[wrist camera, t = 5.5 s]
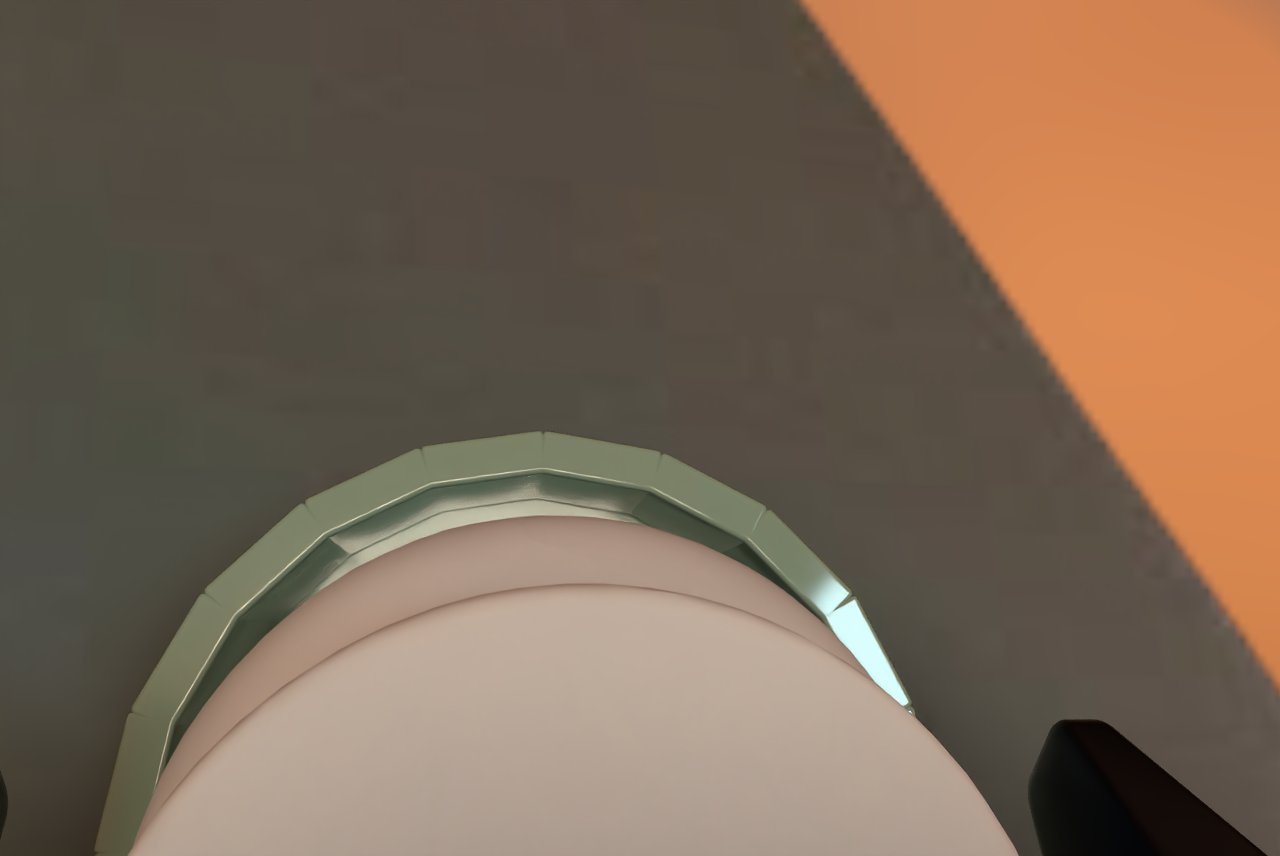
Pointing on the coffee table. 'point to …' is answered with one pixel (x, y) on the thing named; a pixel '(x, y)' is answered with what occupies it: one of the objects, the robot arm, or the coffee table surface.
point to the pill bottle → (559, 716)
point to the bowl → (430, 503)
